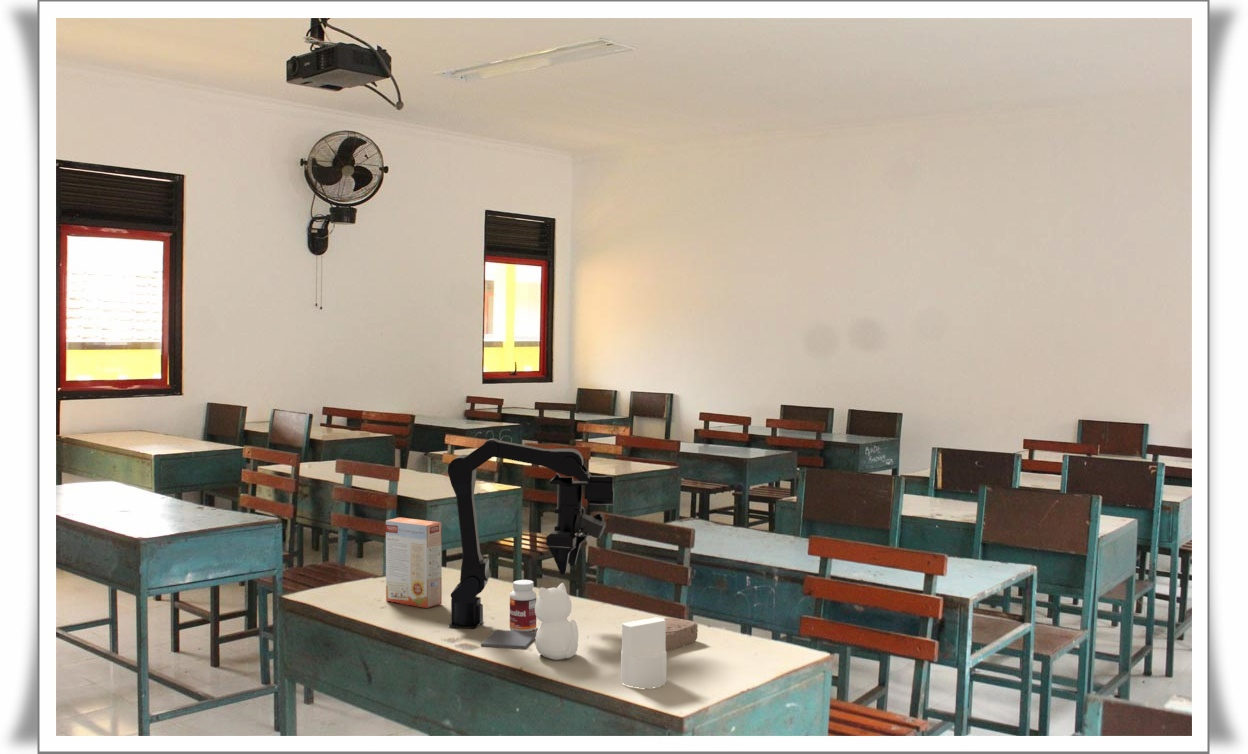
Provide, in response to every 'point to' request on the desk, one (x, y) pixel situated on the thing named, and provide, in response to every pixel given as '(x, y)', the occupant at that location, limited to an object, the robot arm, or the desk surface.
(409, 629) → the desk surface
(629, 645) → the base with upright slab
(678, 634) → the brick
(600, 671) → the desk surface
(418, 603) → the cracker box
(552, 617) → the cat figurine
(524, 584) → the pill bottle
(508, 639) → the mat
